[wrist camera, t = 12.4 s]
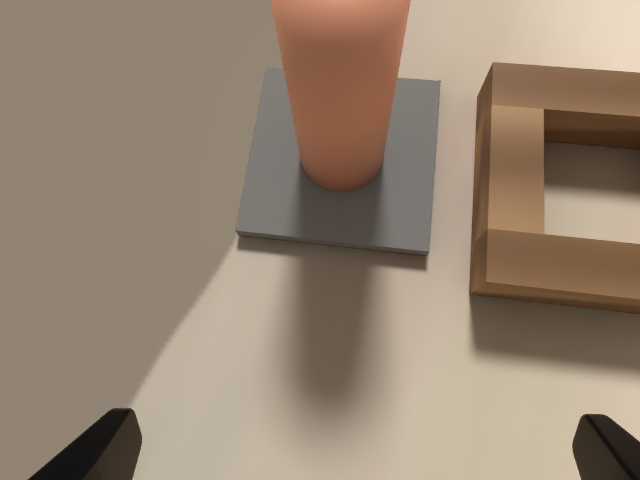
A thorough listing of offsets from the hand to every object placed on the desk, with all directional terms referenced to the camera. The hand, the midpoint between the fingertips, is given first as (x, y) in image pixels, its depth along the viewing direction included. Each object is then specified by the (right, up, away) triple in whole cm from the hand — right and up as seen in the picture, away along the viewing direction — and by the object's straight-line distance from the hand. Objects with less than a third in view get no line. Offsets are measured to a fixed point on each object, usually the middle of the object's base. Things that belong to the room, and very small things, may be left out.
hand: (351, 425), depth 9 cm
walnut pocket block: (+13, +6, +15) cm, 21 cm away
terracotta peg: (+1, +8, +16) cm, 18 cm away
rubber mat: (+1, +8, +17) cm, 19 cm away
